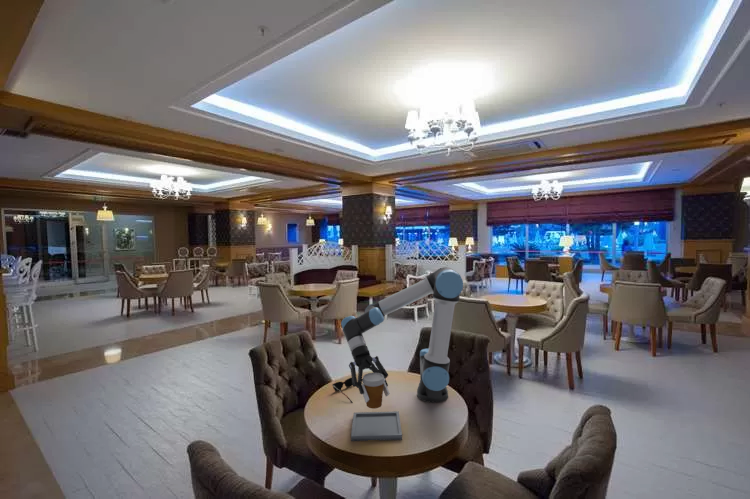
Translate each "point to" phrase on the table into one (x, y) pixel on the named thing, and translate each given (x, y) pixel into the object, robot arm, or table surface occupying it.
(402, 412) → the table surface
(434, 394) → the robot arm
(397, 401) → the table surface
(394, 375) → the table surface
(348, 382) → the sunglasses
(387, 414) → the serving tray
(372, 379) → the disposable coffee cup
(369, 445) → the table surface
